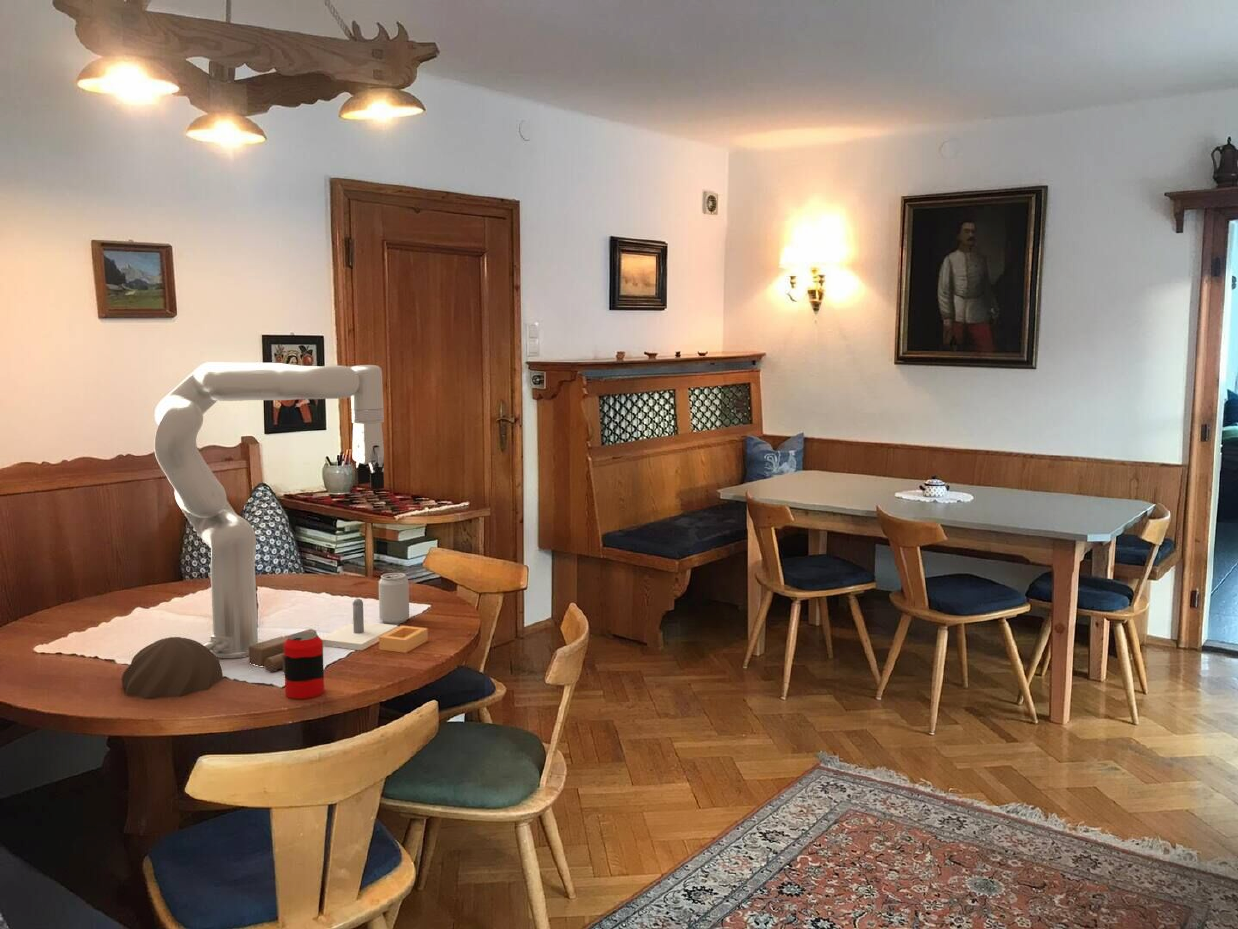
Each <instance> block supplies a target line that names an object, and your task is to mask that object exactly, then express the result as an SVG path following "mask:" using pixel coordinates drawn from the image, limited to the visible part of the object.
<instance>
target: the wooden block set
mask: <svg viewBox="0 0 1238 929" xmlns="http://www.w3.org/2000/svg"><path fill="white" fill-rule="evenodd" d="M303 632H311V633H316V634H317V635H318V632H317V630H316V629H312V628H309V629H305V630H302V631H299V632H296V633H303ZM296 633H294V634H296ZM290 635H291V634H289V635H286V636H279V637H275V638H271V639H268V640H263V641H264V642H261V643H257V644H254V645H251V646H249V656H248V660H249V661H248V664H249V663H251V664H255V665H258V666H265V667H264V668H265V670H266V671H267V670H268V671H273V672H276V671H275V670H277V671H279V670H278V669H280V670H282V673H283V672H284V673H285V667H284V643H285V642H286V640H287V639H288V637H289V636H290ZM251 664H250V665H251ZM282 668H283V669H282ZM268 671H267V672H268Z"/></svg>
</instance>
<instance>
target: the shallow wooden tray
mask: <svg viewBox="0 0 1238 929" xmlns="http://www.w3.org/2000/svg"><path fill="white" fill-rule="evenodd" d="M428 631H429V630H428V628H427V627H419V626H418V627H417V626H409V625H400V626H398V628H396V629H394V630H392V631H390V632H388V633H386V634H384V635H382V636H380V637H379V642H378V645H379V647H378V648H379V650H380V651H389V652H396V653H404V654H406V653H408V652H410V651H412V650H414V649H415V648H417V647H419V646H420V645H422V644H425V643H426V642H428V641H429V637H428V635H429V634H428V633H429V632H428Z"/></svg>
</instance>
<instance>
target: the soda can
mask: <svg viewBox="0 0 1238 929" xmlns="http://www.w3.org/2000/svg"><path fill="white" fill-rule="evenodd" d="M289 635H290V636H289V637H288V639H287V640H286V642H285V643H284V667H285V674H284V688H285V690H284V691H285V692H284V693H285V695H286V696H287V697H288V698H290V699H293V700H307V699H314V698H316V697H319V696H321V695H322V694H323V693H324V692H325V676H324V674H325V672H324V646H323V641H322V640H321V639H320V637H319V635H318V633H317V634H316V633H311V632H303V633H298V632H296V634H295V633H292V634H289Z"/></svg>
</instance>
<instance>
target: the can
mask: <svg viewBox="0 0 1238 929" xmlns="http://www.w3.org/2000/svg"><path fill="white" fill-rule="evenodd" d="M406 576H407V575H406V574H405V573H404V572H403V573H402V572H388V573H383V574H382V575H380V579H379V580H378V607H379V608H378V609H379V613H378V614H379V620H381V621H382V622H383V624H388V625H396V624H397V625H398V624H402V623H405V622H406V621H407V620H408V619H409V618H410V591H409V590H410V586H409V582H410V581H409V579H408V578H407V577H406Z"/></svg>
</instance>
